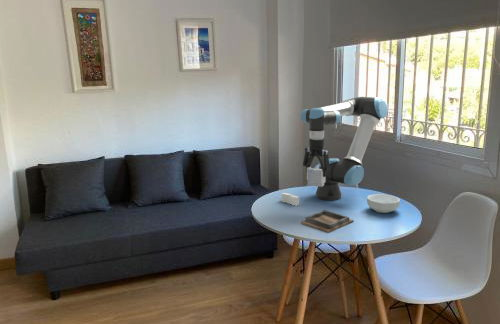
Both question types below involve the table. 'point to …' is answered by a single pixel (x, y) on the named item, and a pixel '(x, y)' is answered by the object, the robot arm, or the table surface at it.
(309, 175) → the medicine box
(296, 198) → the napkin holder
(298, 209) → the table surface
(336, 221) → the wooden tray
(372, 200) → the cereal bowl
